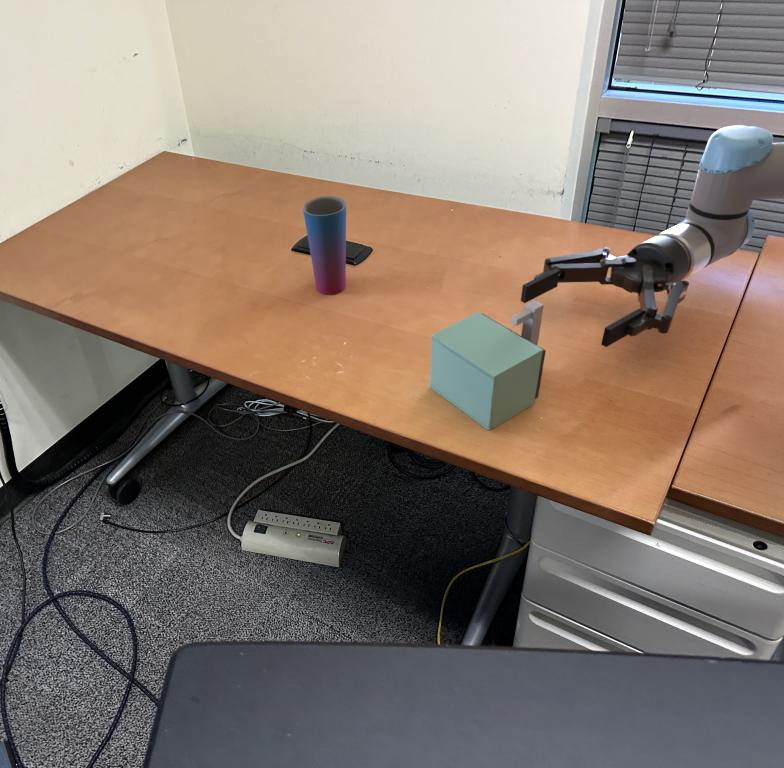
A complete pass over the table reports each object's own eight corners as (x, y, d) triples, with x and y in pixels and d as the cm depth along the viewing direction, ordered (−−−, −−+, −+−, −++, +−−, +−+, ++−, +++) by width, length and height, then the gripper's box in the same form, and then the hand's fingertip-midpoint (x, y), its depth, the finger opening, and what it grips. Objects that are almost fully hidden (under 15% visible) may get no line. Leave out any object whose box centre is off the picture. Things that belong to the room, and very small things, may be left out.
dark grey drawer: (500, 346, 98) (507, 285, 92) (561, 384, 91) (573, 320, 84) (435, 381, 94) (438, 319, 88) (493, 423, 87) (501, 359, 80)
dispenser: (473, 364, 97) (477, 311, 91) (534, 404, 89) (543, 349, 84) (430, 387, 94) (431, 334, 89) (488, 431, 87) (494, 376, 81)
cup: (354, 277, 119) (350, 196, 109) (346, 298, 114) (340, 216, 104) (316, 275, 121) (309, 195, 111) (306, 296, 116) (297, 215, 106)
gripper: (743, 317, 93) (638, 381, 86) (589, 251, 110) (492, 299, 103) (761, 269, 88) (652, 333, 81) (598, 207, 106) (496, 256, 99)
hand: (562, 314), depth 92 cm, fingers open, 13 cm apart
